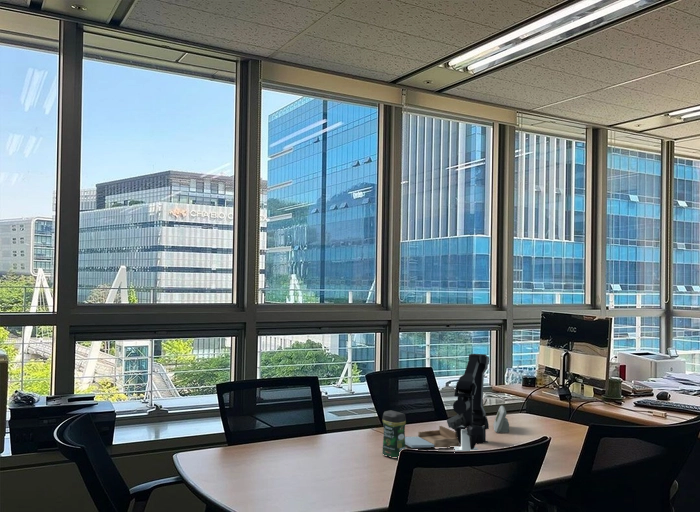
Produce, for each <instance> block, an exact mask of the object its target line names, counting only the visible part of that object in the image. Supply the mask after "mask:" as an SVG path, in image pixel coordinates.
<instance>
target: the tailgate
mask: <svg viewBox="0 0 700 512" xmlns="http://www.w3.org/2000/svg"><path fill="white" fill-rule="evenodd" d="M405 446H407V447H409V448H412V449H413V448H414V449H415V448H431V447H434V444H432V443H430V442H428V441H426V440H424V439H422V438H420V437H418V436H405Z"/></svg>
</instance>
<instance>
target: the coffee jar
mask: <svg viewBox="0 0 700 512" xmlns="http://www.w3.org/2000/svg"><path fill="white" fill-rule="evenodd" d="M382 424H383V425H382V426H383V439H382V440H383V441H382V453H381V454H382V455H383V454H384V455H387V456H391V457H397V458H398V456H399V452H400V451H401V450H402V449H407V448H406V444H405V437H406V435H405V434H406V433H405V432H406V431H405V429H406V424H407V418H406V414H405V413H403V412H400V411H396V410H391V409H390V410H385V411H384V412H383V414H382ZM384 455H383V456H384Z"/></svg>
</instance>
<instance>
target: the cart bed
mask: <svg viewBox="0 0 700 512" xmlns="http://www.w3.org/2000/svg"><path fill="white" fill-rule="evenodd" d="M417 434H418V435H417V437H420V438H422V439H424V440H426V441H428V442H430V443H432V444H434V447H450V446H458V447H459V441H458V438H457V434H456V432H455V430H453V429H452V430H451V428H450V429H449V428H448V427H445V426H442V425H439V427H438V429H436V430H435V429H433V430H424V431H418V432H417Z"/></svg>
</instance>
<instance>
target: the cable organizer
mask: <svg viewBox="0 0 700 512" xmlns="http://www.w3.org/2000/svg"><path fill="white" fill-rule="evenodd" d="M467 433H468V432H467V429H466V428H465V429H461V444H460V446H458V447H457V446H455V447H454V448H453V450H454V449H455V451H470V450H479V448H478V447H476V446H475V447H474V449H471V448H470V438H469V436H468V435H467Z"/></svg>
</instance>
